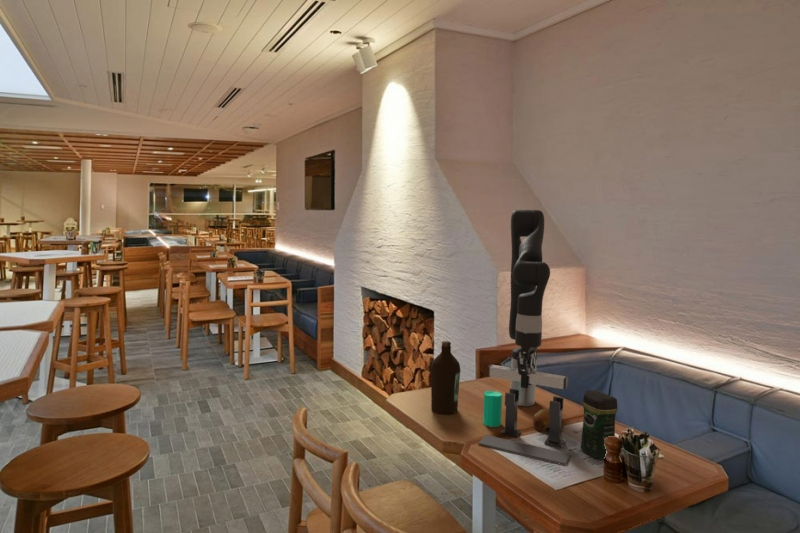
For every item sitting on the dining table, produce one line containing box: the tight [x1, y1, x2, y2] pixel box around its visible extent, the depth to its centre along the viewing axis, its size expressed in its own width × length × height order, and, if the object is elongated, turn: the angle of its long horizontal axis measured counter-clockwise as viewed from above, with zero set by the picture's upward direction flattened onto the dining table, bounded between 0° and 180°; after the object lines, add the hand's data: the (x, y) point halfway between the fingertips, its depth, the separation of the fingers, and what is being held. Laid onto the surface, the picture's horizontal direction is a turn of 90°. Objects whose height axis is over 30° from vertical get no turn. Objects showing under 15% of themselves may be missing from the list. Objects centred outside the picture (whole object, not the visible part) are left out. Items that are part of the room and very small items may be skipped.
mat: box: [478, 434, 571, 466], centre depth 157 cm, size 7×26×1 cm, turn 61°
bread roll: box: [532, 408, 565, 434], centre depth 175 cm, size 10×10×8 cm
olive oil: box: [430, 340, 461, 415], centre depth 188 cm, size 11×11×25 cm
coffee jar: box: [580, 389, 618, 460], centre depth 155 cm, size 10×8×19 cm
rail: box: [487, 363, 569, 391], centre depth 155 cm, size 3×23×3 cm, turn 61°
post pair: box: [500, 387, 566, 449], centre depth 165 cm, size 6×19×14 cm, turn 61°
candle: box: [482, 388, 503, 428], centre depth 176 cm, size 6×6×12 cm
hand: (526, 385), depth 155 cm, fingers closed on rail, 3 cm apart
